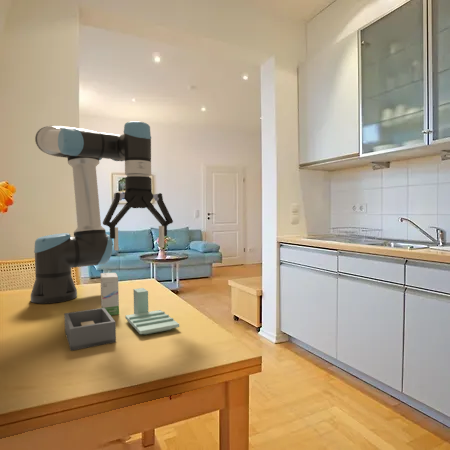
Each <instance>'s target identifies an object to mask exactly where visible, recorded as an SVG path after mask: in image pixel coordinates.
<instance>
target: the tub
mask: <svg viewBox="0 0 450 450" xmlns="http://www.w3.org/2000/svg"><path fill="white" fill-rule="evenodd" d="M116 326H117V325H116V321H115V319H114V318H113V317H112V315H110V314H109V313H108V312H107V310H106V309H105V308H101V307H99V308H92V309H86V310H85V309H84V310H79V311H71V312H65V313H64V333H65V337H66V340H67V344H68V346H69V350H70V351H77V350H82V349H86V348H92V347H97V346H102V345H108V344H112V343H113V344H114V343H116V342H117V329H116Z"/></svg>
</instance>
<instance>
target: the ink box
mask: <svg viewBox="0 0 450 450" xmlns="http://www.w3.org/2000/svg"><path fill="white" fill-rule="evenodd" d="M119 296H120V295H119V277H118V274H117V273H116V272H100V306H101V307H100V308H105V309H106V310H107V312H108V313H109V314H110V315H111V316H113V315H114V316H115V315H120V302H119V301H120V299H119Z"/></svg>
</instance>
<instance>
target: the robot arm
mask: <svg viewBox="0 0 450 450" xmlns="http://www.w3.org/2000/svg"><path fill="white" fill-rule="evenodd" d="M34 137H35V138H34V140H35V141H34V142H35V144H36V147H37V148H38V149H39V150H40V151H41V152H43V153H44V154H47V155H49V156H53V157H57V158H58V157H59V158H67V164H68V165H69V166H71V168H72V176H73V188H74V200H75V213H76V224H77V225H76V226H77V227H76V229H75V230H74V231H73V236H71V234H70V233H69V232H62V233H53V234H48V235H44V236H43V235H42V236H40V237H37V238H36V240H35V241H34V248H33V249H34V250H33V253H34V267H35V268H34V270H35V280H34V283H33V286H32V290H31V292H30V302H31V303H33V304H44V305H45V304H56V303H57V304H58V303H61V302H66V301H67V302H68V301H70V300H73V299H75V298H77V297H78V291H77V290H78V289H77V287H76V285H75V281H74V280H73V279H74V278H73V277H72V269H73V268H83V267H91V266H99V265H104V264H107V263H108V262H109V261H110V259H111V257H112V255H113V254H112V253H113V251H119V227H117V225H118V224H119V222H120V221H121V220H122V219H123V218H124V216H125V215H126V214H127V213H128V212H129V210H130V209H148V211H149V212H150V213H151V214H152V216H154V218H155V219H156V221H158V223H159V224H160V225H158V247H159V248H165V237H167V236H168V226H169V225H170V224H171V225H172V224H173V223H174V220H173V218H172V216H171V214H170V212H169V210H168V208H167V206H166V203H165V202H164V197H163V193H160V192H159V193H154V194H153V191H152V190H153V189H152V185H153V184H152V177H151V175H152V135H151V126H150V125H149V124H148V123H146V122H143V121H138V120H137V121H128V122H126V123H124V126H123V133H122V134H115V133H108V132H107V133H106V132H97V131H94V130H90V129H88V128H77V127H70V126H63V125H49V126H48V125H46V126H42V127H41V128H39V129H38V130H37V132H36V134H35V136H34ZM102 159H106V160H112V161H114V162H124V175H125V178H124V189H125V190H124V193H120V192H114V193H113V200H112V203H111V205H110V206H109V209H108V211H107V213H106V215H105V217H104V219H103V220H102V223H101V210H100V199H99V189H98V177H97V167H98V165H99V164H100V161H101V160H102ZM122 199H124V201H126V203H125V204H124V206H123V207H122V209H120V211H119V212H118V213H117V214H116V215H115V217H113V216H114V214H115V211H116V209H117V207H118V206H119V204H120V202H121V201H122ZM153 199H154V201H156V204H157V206H158V208H159V210H160V211H161V213H162V215H161V214H160V212H159V211H158V209H156V207H155V206H154V204H153V203H152V200H153ZM112 218H113V219H112ZM102 225H103V226H107V227H108V228H109V234H107V232H106V229H105V228H104V227H103V226H102Z"/></svg>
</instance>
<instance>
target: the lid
mask: <svg viewBox="0 0 450 450" xmlns="http://www.w3.org/2000/svg"><path fill="white" fill-rule="evenodd" d="M132 290H133V314H126V315H124V317H125V320H127V322H128V323H129V324H130V325H131V327H133V328H134V330H135V331H136V332H138V334H139V335H151V334H154V333H161V332H166V331H171V330H172V329H176V328H180V323H178V321H176V320H174V318H173V317H170V316H169V314H166V313H165V311H162V310H161V309H159V310H152V311H149V290H147V289H145V288H144V287H140V288H133V289H132Z"/></svg>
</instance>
